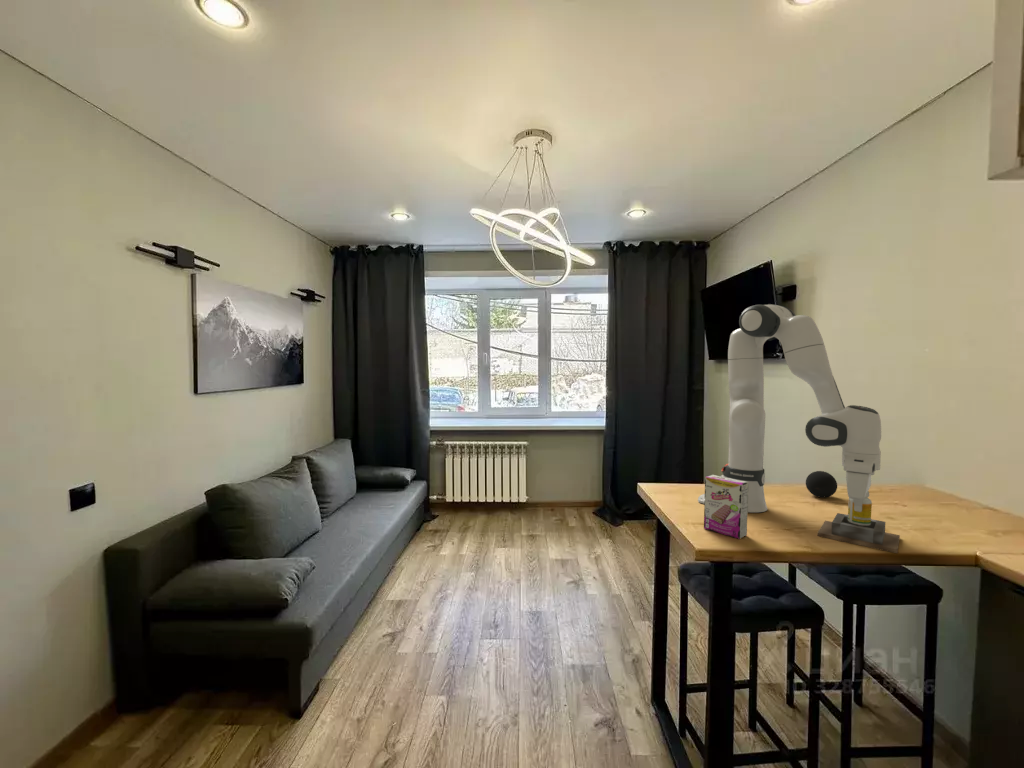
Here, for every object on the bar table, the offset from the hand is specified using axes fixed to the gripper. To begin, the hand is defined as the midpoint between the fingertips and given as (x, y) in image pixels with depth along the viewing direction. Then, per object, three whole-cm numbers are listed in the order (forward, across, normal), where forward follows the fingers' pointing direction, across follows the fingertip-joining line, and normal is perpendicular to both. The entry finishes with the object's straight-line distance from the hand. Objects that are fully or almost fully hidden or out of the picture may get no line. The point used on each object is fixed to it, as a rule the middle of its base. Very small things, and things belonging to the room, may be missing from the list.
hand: (859, 508), depth 131 cm
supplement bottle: (+5, 0, 0) cm, 5 cm away
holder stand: (+9, 0, 0) cm, 9 cm away
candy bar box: (+9, +23, -30) cm, 39 cm away
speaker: (+9, -41, -15) cm, 45 cm away
